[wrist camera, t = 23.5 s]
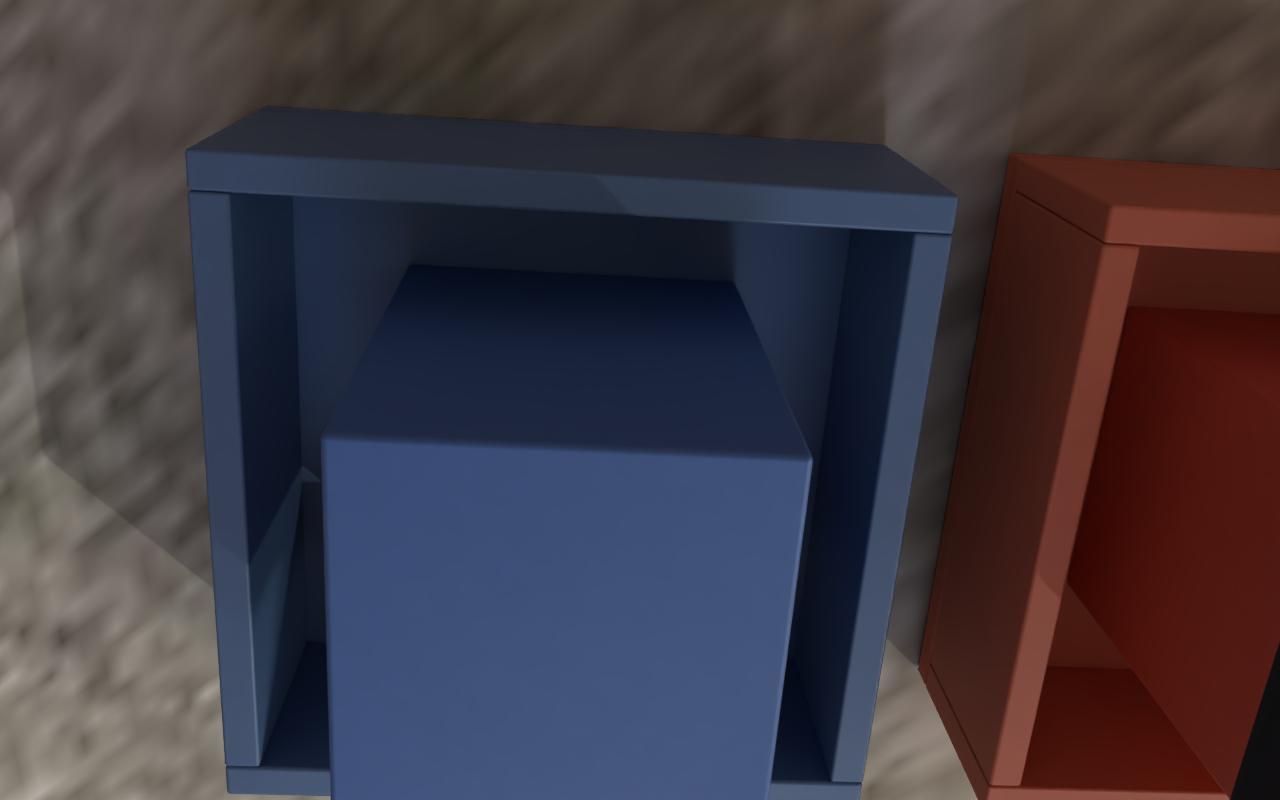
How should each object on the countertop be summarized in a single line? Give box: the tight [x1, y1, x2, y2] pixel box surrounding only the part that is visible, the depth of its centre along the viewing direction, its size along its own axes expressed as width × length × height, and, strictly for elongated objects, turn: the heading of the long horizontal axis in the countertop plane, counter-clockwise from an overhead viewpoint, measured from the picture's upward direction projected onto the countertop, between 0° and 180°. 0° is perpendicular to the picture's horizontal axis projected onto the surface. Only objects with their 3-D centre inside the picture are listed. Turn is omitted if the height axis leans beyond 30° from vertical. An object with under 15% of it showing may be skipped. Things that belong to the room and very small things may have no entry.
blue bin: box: [185, 106, 958, 800], centre depth 22 cm, size 11×11×5 cm
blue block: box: [321, 265, 813, 800], centre depth 19 cm, size 6×6×8 cm
